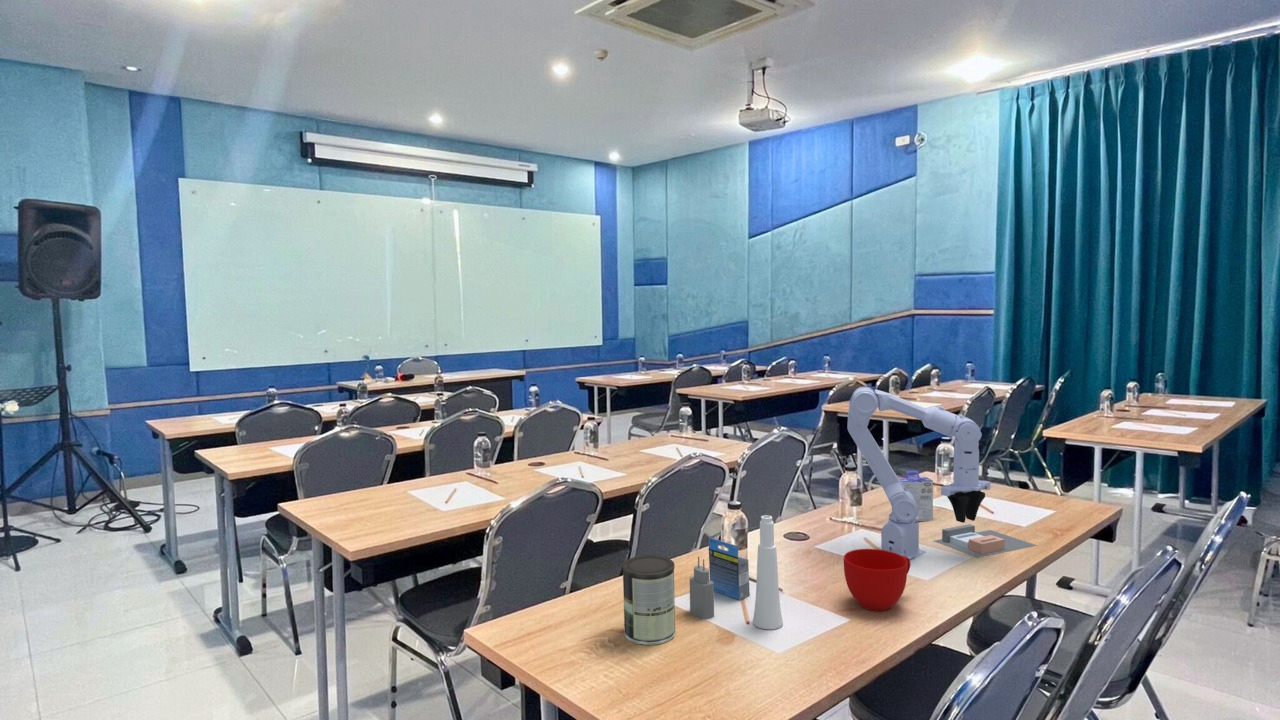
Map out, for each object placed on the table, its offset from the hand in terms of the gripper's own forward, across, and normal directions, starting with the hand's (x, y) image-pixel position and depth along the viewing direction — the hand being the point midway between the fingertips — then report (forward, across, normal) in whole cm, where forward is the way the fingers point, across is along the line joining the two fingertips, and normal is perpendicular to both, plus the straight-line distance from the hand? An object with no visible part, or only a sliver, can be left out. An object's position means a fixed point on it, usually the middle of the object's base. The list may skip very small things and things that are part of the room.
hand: (965, 520), depth 176 cm
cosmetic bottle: (+10, -65, -10) cm, 67 cm away
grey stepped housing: (+9, +8, +7) cm, 14 cm away
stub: (+9, +8, +1) cm, 12 cm away
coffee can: (+10, -88, -4) cm, 89 cm away
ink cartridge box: (+10, +12, +30) cm, 34 cm away
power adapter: (+10, -75, -1) cm, 76 cm away
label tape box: (+10, -64, +6) cm, 65 cm away
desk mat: (+9, +12, +5) cm, 16 cm away
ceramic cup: (+10, -38, -12) cm, 41 cm away
